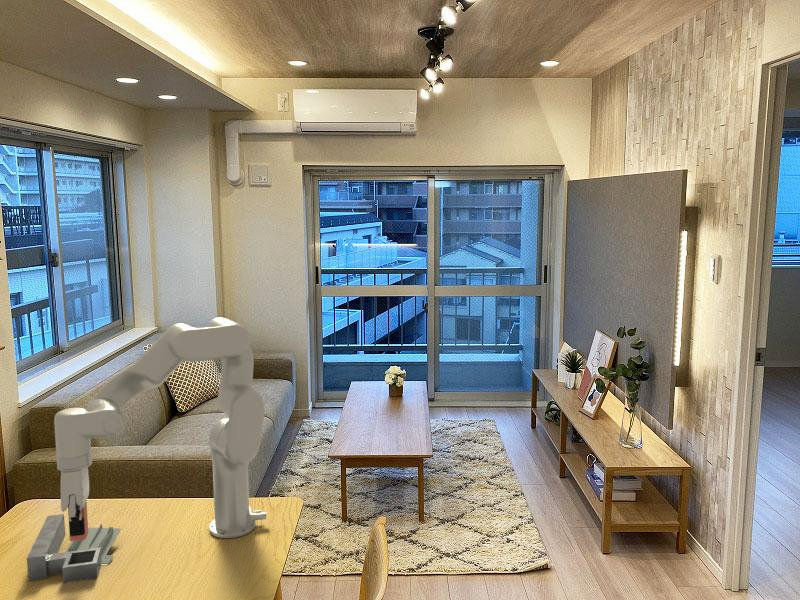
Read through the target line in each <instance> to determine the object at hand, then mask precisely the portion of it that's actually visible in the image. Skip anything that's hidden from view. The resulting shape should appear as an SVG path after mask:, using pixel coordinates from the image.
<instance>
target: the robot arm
mask: <svg viewBox="0 0 800 600" xmlns="http://www.w3.org/2000/svg"><path fill="white" fill-rule="evenodd" d="M250 343H251V335H250V332H249V330H248V329H247V328H246V327H245V326H244V325H242V324H240V323H238V322H235V321H234V320H232V319H229V318H226V317H221V316H220V317H215V318H213V319H210V320H209V321H208V323H207V325H206V327H193V326H192V325H189V324H186V323H181V322H179V323H175V324H174V323H173V324H172V325H170V326H169V327H168V328H167V329H166V330H165V331H164V332H163V333H162V334H161V335H160V336H159V337H158V338H157V340H156V341H155V342H154V343H152V344H151V346H150V347H149V348H148V349H147V350H146V351H145V352H144V353H143V355H141V356H140V357H139V358H138V360H137V361H136V362H134V363H133V364H132V365H130V366H128V367H127V368H126V369H125V370H123V371H122V372H120V373H119V374H117V375H116V376H114V377H113V378H112V379H111V380H110V381H108V382H107V384H105V385H104V387H103V388H102V389H100V390H99V391H98V393H96V395H94V397H93V398H92V399H91V400H90V401H89V403H88V405H87V407H86V408H83V407H70V408H69V407H68V408H65V409H62V410H60V411H58V412H56V414H55V415H54V420H53V421H54V422H53V424H54V435H55V436H54V437H55V451H56V454H55V455H56V467H57V470H58V471H60V510H61V512H64V513H65V511H67V510H68V505H69V517H68V530H69V529H70V533H69V537H70V536H78V535H84V533H85V527H84V518H82V508H83V507H84V506H85V503H86V501H87V500H88V498H89V495H90V476H89V475H90V474H89V467H90V466H91V465H92V464H93V459H92V458H93V457H92V456H93V455H92V454H93V453H92V439H108V438H113V437H116V436H118V435H120V434H121V433H123V431H124V429H125V428H126V424H127V418H126V416H125V413H124V412H123V411H122V409H123V408H124V407H125V406H126V405H127V404H128V403H129V402H130V401H131V400H132V399H134V398H135V397H136V396H137V395H139V394H141V393H143V392H145V391H148V390H151V389H155V388H159V387H160V386H162V385H163V384H164V383H165V382H166V381H167V379H168V378H169V377H171V375H172V374H173V373H174V372H175V371H176V369H177V368H178V367H179V366H180V365H182V363H183V362H188V363H194V362H195V363H196V362H198V363H199V362H206V361H213V360H221V373H220V380H219V389H218V395H217V406H218V408H219V409H220V411H221V412H222V413H224V414H225V415H226V416H227V417H224V418H221V419H218V420H217V421H216V422H215V423H213V425H212V426H211V429H210V430H209V431H210V432H209V434H208V435H209V436H208V444H209V449H210V456H211V463H212V484H213V485H212V486H213V506H214V520H212V521H211V522H210V523H209V532H210V534H211V535H213V537H217V538H221V539H236V538H239V537H242V536H245V535H248V534H249V533H251V532H252V531H253V530H254V529H255V528H256V521H262V520H267V512H266V511H265V512H264V511H263V512H262V509H257V510H253V509H251V505H250V493H249V492H250V488H249V487H250V485H249V463H250V462H252V460H254V458H255V457H256V456H257V454H258V452H259V450H260V447H261V441H262V440H261V439H262V435H263V434H262V433H263V425H264V418H265V403H264V399H263V397H262V396H261V393H259V392H258V391H257V390H255V389H254V388H253V378H254V365H255V364H254V354H253V353H254V352H253V349H252V347H251V344H250ZM78 505H79V507H76V506H78ZM76 511H79V513H76Z"/></svg>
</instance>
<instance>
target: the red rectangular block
mask: <svg viewBox="0 0 800 600" xmlns="http://www.w3.org/2000/svg"><path fill="white" fill-rule="evenodd" d="M76 507H79V505H78V506H76ZM76 513H79V511H76ZM67 515H68V517H67V518H69V505H68V507H67ZM82 518H84V527H85V533H84V535H78V536H70V535H69V541H70V542H72V541H76V540H84V539H86V537H87V535H88V528H89V522H88V521H89V520H88V502H87V501H86V503H85V506H84V507H83V508H82ZM68 530H69V534H70V529H69V528H68Z"/></svg>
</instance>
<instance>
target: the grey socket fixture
mask: <svg viewBox="0 0 800 600" xmlns="http://www.w3.org/2000/svg"><path fill="white" fill-rule="evenodd" d="M65 523H66V522H65V513H60V514H53V515H52V514H51V515H47V516H46V518H45V521H44V523H43V524H42V527H41V529H40V531H39V533H38V535H37V537H36V539H35V540H34V543H33V544H32V547H31V549H30V551H29V553H28V554H27V557H26V564H27V565H26V566H27V567H26V568H27V575H28V576H27V577H28V578H27V579H28V582H31V581H32V582H33V581H40V580H45V579H48V577H49V576H56V575H62V580H63V581H62V583H63V584H68V583H73V581H75V582H81V580H82V581H87V580H94V578H95V579H98V577H99V573H100V571H99V570H101V567H102V565H101V562H102V554H101V547H100V548H93V549H85V550H78V551H70V552H66V551H63V552H60V548H61V546H62V544H63V542H64V539H65V536H66V524H65ZM67 582H68V583H67Z"/></svg>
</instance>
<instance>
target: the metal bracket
mask: <svg viewBox="0 0 800 600" xmlns="http://www.w3.org/2000/svg"><path fill="white" fill-rule="evenodd" d="M121 529H122V528H121V527H119V528H114V527H113V526H109V527H103V524H102V523H100V525H99V526H98V527H88V535H87V537H86V539H84V540H76V541H70V544H69V546H68V547H67V549H66V550H65V552H70V551H78V550H85V549H93V548H100V547H101V554H102V562H101V564H109V565H110V563H111V561H112V559H113V557H114V556H113V554H111V555H110V554H109V555H108V553H109V551H110V550H111V548H112V546H113V544H114V543H115V540H116V538H117V537H118V535H119V533H120V531H121Z"/></svg>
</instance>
